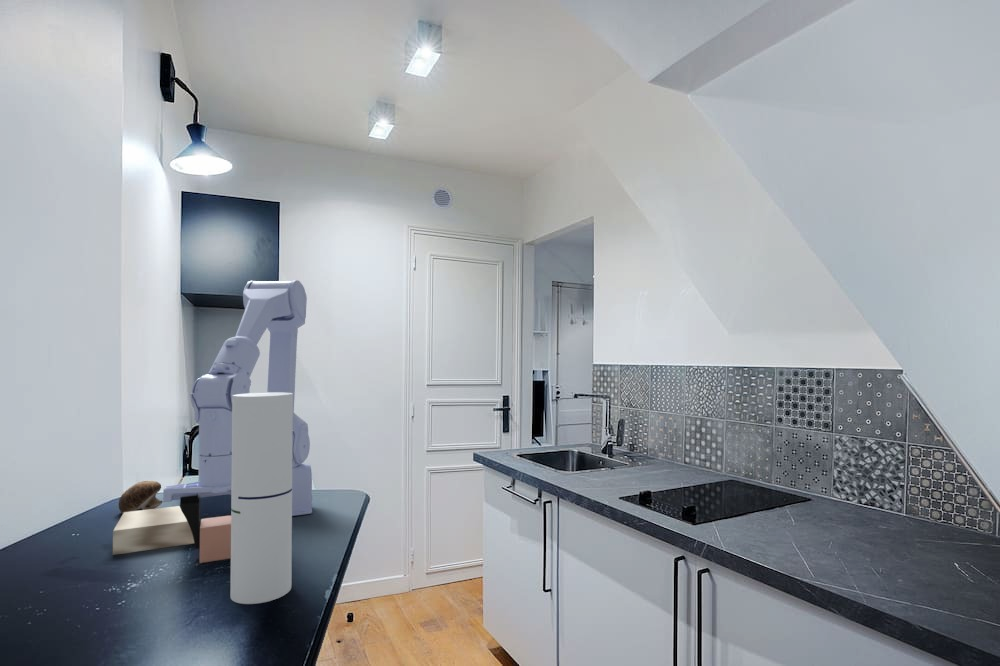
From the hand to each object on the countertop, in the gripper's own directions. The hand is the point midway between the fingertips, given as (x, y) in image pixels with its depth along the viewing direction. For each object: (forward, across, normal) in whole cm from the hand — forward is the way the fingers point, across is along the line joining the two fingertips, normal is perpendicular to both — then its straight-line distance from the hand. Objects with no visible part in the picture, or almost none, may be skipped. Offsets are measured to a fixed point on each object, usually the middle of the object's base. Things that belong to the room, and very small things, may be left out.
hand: (219, 543), depth 83 cm
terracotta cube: (+2, 0, 0) cm, 2 cm away
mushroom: (+2, -14, +33) cm, 36 cm away
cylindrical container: (+2, +5, -17) cm, 18 cm away
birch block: (+2, -9, +13) cm, 16 cm away
